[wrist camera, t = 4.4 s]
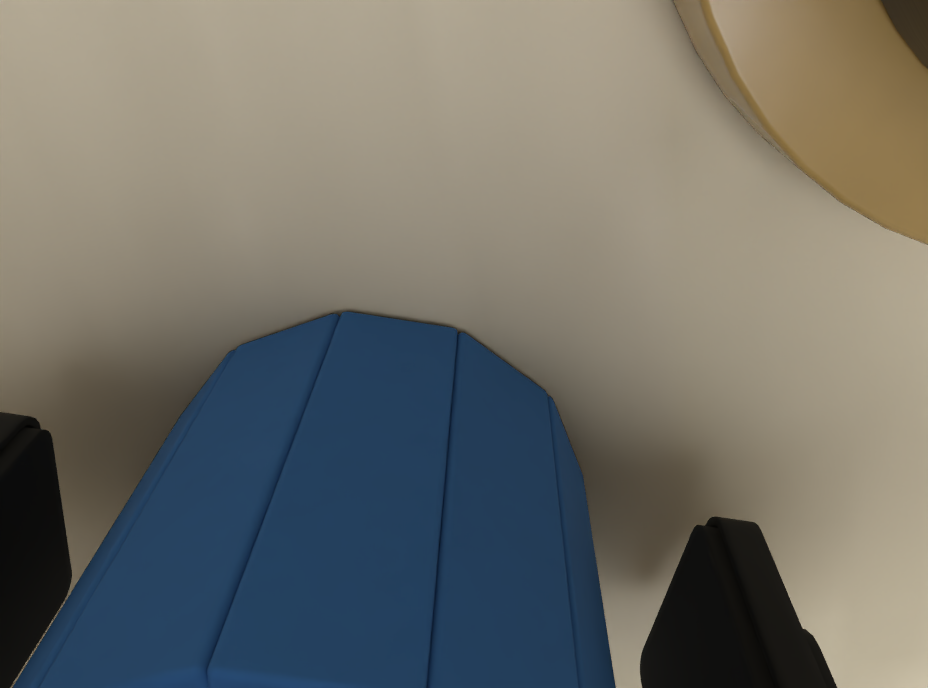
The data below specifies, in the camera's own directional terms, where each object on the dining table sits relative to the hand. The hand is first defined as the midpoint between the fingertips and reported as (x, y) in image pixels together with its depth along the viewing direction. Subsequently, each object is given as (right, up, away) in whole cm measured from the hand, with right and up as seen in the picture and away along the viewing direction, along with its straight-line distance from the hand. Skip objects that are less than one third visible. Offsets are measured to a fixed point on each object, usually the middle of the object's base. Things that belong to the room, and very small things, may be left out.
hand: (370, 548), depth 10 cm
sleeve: (0, +1, +1) cm, 1 cm away
